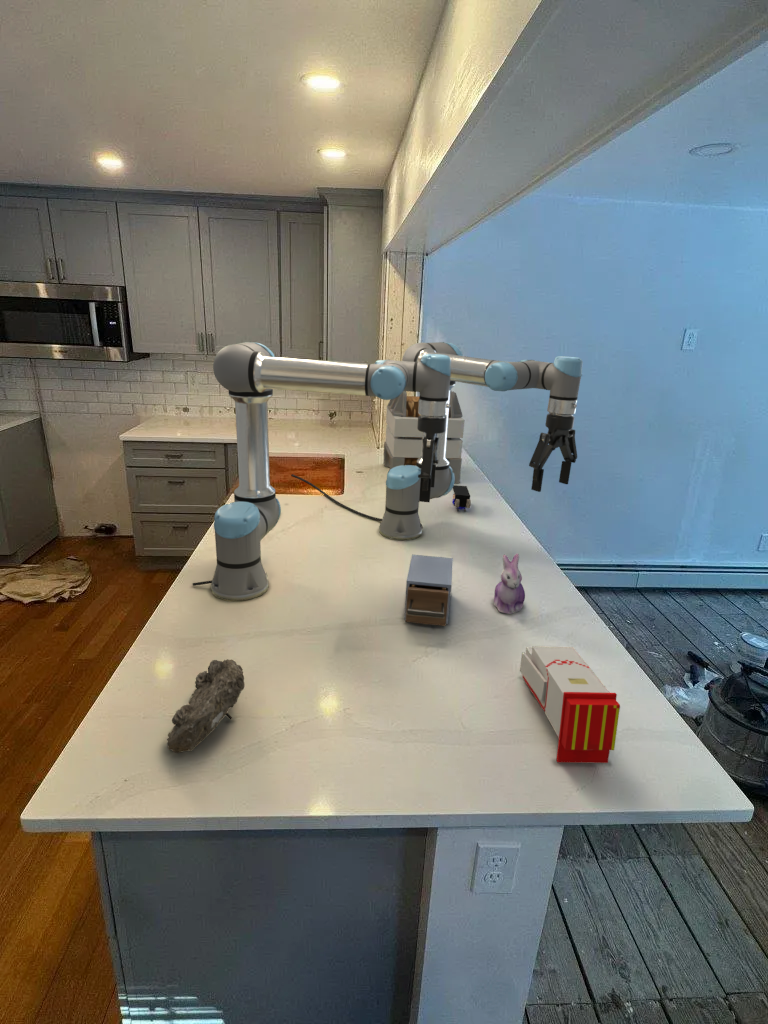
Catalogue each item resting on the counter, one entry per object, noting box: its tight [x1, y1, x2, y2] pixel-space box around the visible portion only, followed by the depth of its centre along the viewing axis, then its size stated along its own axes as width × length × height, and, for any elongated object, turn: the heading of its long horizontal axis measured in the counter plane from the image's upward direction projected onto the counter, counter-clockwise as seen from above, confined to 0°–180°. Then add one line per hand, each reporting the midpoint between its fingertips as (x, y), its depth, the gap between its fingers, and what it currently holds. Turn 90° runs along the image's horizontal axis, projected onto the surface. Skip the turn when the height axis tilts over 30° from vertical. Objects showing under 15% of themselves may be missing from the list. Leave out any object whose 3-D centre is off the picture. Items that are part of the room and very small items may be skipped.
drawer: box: [405, 584, 449, 627], centre depth 144 cm, size 21×10×9 cm, turn 172°
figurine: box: [493, 553, 526, 615], centre depth 151 cm, size 9×10×15 cm
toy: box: [519, 645, 621, 764], centre depth 112 cm, size 12×13×30 cm
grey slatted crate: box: [383, 389, 465, 484], centre depth 268 cm, size 34×33×41 cm
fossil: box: [166, 658, 245, 754], centre depth 106 cm, size 22×10×15 cm
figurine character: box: [451, 484, 472, 513], centre depth 228 cm, size 7×8×15 cm
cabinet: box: [403, 553, 454, 625], centre depth 150 cm, size 16×11×11 cm
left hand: (426, 493), depth 154 cm, fingers open, 13 cm apart
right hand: (550, 486), depth 165 cm, fingers open, 13 cm apart
